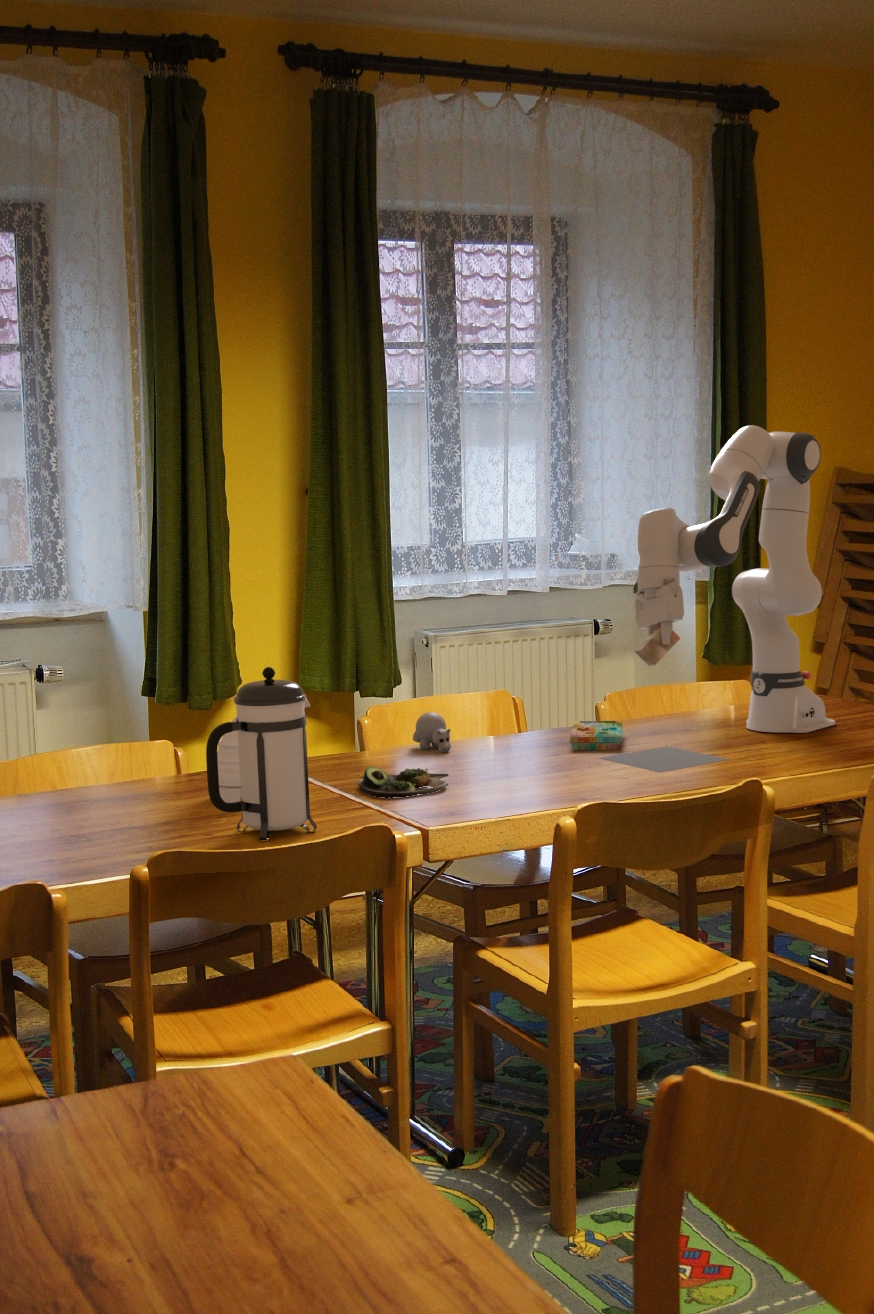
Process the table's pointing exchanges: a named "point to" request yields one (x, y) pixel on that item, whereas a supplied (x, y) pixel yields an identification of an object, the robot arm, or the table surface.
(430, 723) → the round bodied animal figurine
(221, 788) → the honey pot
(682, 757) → the felt mat
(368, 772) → the salad plate
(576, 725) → the puzzle game
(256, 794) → the coffee press
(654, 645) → the birch block
